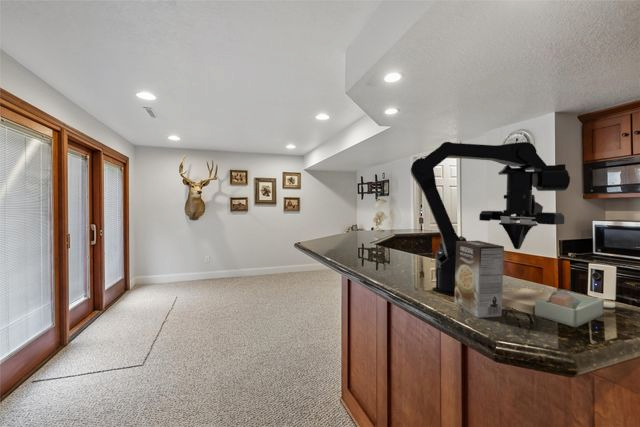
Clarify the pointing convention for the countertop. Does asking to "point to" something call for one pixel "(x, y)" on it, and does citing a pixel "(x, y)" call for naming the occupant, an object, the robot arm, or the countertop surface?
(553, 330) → the countertop surface
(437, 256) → the supplement bottle
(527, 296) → the deck
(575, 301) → the tile slate
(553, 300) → the tile terracotta
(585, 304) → the tray
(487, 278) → the coffee box
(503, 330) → the countertop surface
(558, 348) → the countertop surface
